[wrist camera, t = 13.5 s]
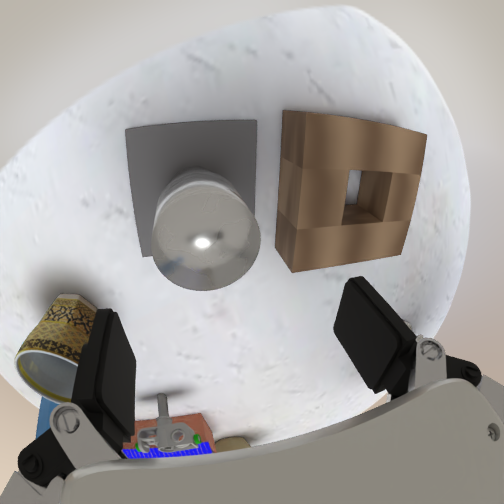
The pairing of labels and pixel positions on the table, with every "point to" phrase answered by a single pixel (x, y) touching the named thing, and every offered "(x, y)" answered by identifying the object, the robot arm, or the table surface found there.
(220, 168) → the mat
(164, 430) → the mechanical component
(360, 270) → the table surface
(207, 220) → the grey metal cylinder
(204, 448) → the house
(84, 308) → the ceramic cup
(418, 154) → the housing
